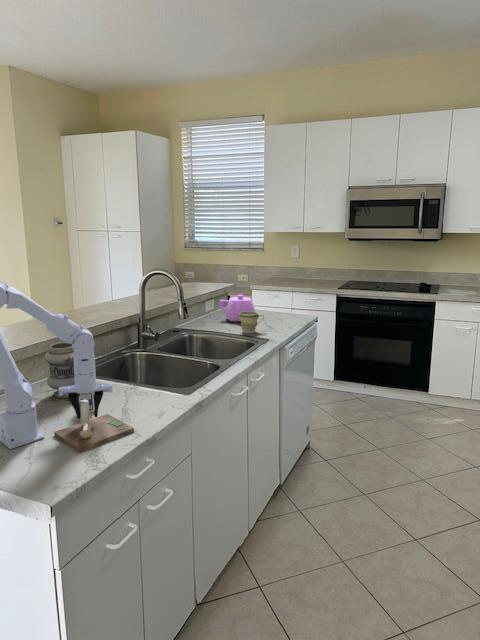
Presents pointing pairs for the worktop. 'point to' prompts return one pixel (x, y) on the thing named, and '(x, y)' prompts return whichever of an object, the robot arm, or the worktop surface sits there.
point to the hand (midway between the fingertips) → (87, 416)
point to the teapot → (237, 307)
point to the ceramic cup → (249, 321)
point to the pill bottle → (90, 399)
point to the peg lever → (84, 419)
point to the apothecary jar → (60, 368)
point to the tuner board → (94, 432)
